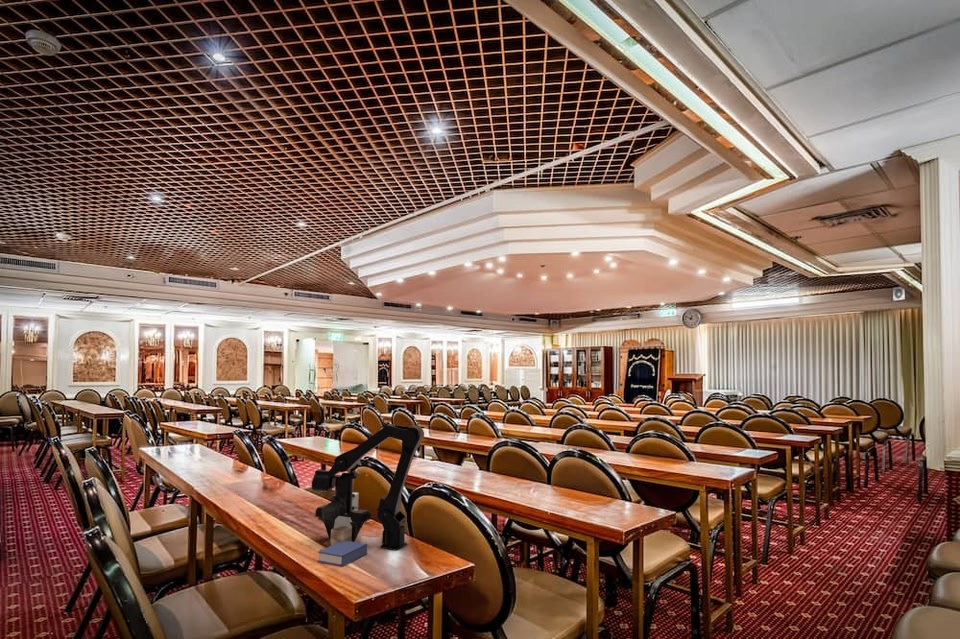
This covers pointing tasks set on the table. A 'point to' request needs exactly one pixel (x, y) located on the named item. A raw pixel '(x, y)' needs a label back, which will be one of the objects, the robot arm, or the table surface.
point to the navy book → (342, 553)
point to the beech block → (341, 534)
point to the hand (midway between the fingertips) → (341, 540)
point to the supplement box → (346, 520)
